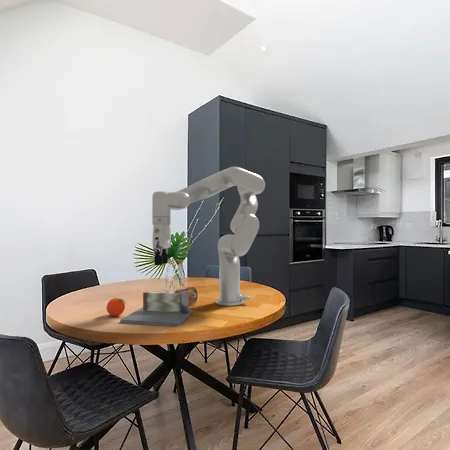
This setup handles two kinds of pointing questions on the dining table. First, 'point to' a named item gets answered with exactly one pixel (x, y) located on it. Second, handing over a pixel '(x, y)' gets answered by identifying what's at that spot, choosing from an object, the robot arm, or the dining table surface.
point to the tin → (189, 295)
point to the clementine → (116, 306)
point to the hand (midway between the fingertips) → (161, 263)
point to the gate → (161, 301)
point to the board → (156, 317)
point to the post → (184, 302)
